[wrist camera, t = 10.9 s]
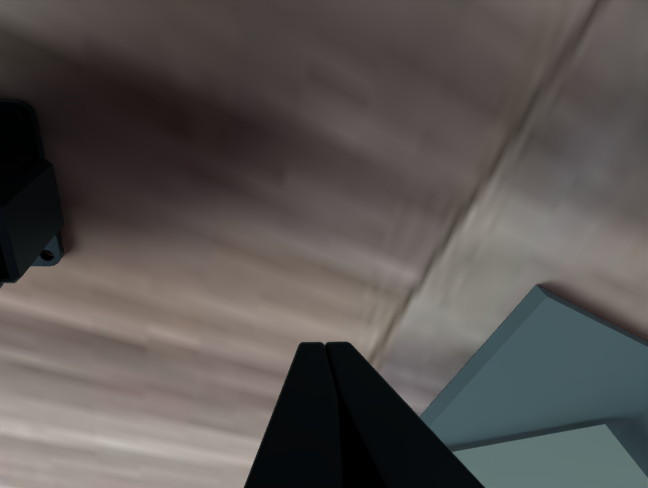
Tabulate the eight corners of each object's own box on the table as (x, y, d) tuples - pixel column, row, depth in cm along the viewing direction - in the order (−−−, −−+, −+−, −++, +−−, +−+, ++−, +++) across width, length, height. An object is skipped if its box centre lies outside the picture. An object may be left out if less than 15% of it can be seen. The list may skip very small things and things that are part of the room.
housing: (392, 447, 28) (412, 512, 25) (536, 284, 23) (585, 337, 20) (542, 491, 32) (577, 551, 29) (689, 362, 28) (751, 416, 24)
